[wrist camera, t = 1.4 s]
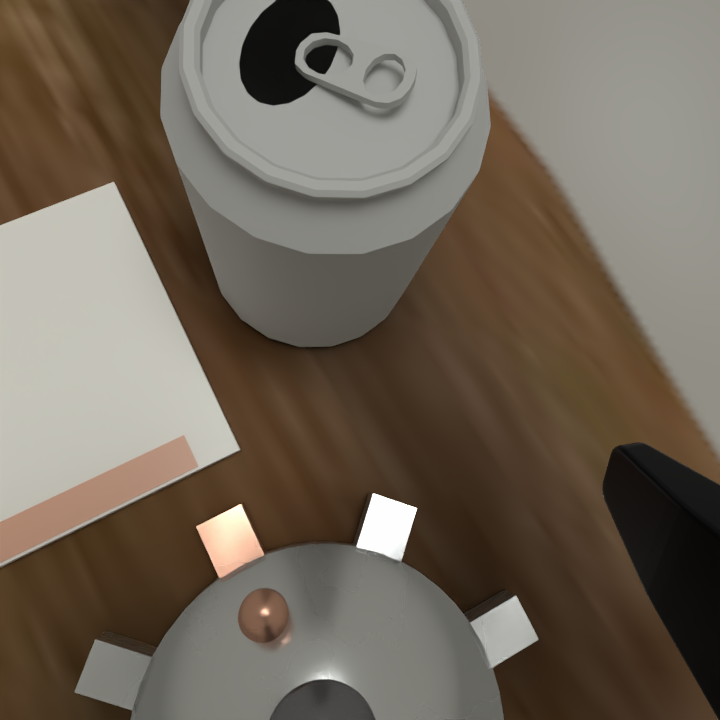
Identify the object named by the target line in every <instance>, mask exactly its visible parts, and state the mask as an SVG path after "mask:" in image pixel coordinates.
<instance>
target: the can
mask: <svg viewBox="0 0 720 720" xmlns="http://www.w3.org/2000/svg"><path fill="white" fill-rule="evenodd" d="M161 120H162V123H163V125H164V128H165V131H166V134H167V137H168V140H169V143H170V146H171V149H172V152H173V155H174V158H175V161H176V164H177V166H178V169H179V172H180V175H181V178H182V181H183V184H184V187H185V190H186V193H187V195H188V198H189V201H190V204H191V207H192V210H193V213H194V216H195V219H196V222H197V224H198V227H199V230H200V233H201V236H202V239H203V242H204V245H205V248H206V251H207V253H208V256H209V259H210V262H211V265H212V268H213V271H214V274H215V277H216V280H217V283H218V285H219V288H220V291H221V294H222V295H223V297H224V298H225V299H226V300H227V302H228V303H229V304H230V306H231V307H232V308H233V310H234V311H235V312H236V313H237V315H238V316H239V317H240V319H241V320H243V321H244V322H246V323H247V324H249V325H250V326H252V327H253V328H255V329H256V330H257V331H259V332H260V333H262V334H263V335H265V336H266V337H268V338H271V339H274V340H278V341H281V342H284V343H288V344H291V345H294V346H298V347H332V346H335V345H338V344H341V343H344V342H346V341H349V340H352V339H355V338H358V337H361V336H363V335H364V334H366V333H367V332H368V331H370V330H371V329H372V328H374V327H375V326H376V325H378V324H379V323H380V322H382V321H383V320H384V319H386V318H387V316H388V315H389V313H390V312H391V310H392V309H393V308H394V306H395V305H396V303H397V302H398V300H399V299H400V297H401V296H402V294H403V293H404V291H405V290H406V288H407V287H408V285H409V283H410V282H411V280H412V278H413V277H414V275H415V274H416V272H417V270H418V269H419V267H420V266H421V264H422V262H423V261H424V259H425V258H426V256H427V254H428V253H429V251H430V249H431V248H432V246H433V245H434V243H435V241H436V240H437V238H438V237H439V235H440V233H441V232H442V230H443V228H444V227H445V225H446V224H447V222H448V220H449V219H450V217H451V216H452V214H453V212H454V211H455V209H456V208H457V206H458V204H459V203H460V201H461V199H462V198H463V196H464V195H465V193H466V191H467V190H468V188H469V187H470V185H471V183H472V182H473V180H474V178H475V177H476V175H477V174H478V172H479V170H480V166H481V162H482V158H483V154H484V151H485V147H486V143H487V139H488V135H489V131H490V128H491V124H490V112H489V100H488V89H487V80H486V78H485V76H484V73H483V68H482V56H481V45H480V40H479V38H478V36H477V33H476V31H475V28H474V26H473V24H472V21H471V19H470V17H469V14H468V12H467V10H466V8H465V5H464V3H463V1H462V0H190V2H189V5H188V7H187V10H186V12H185V15H184V17H183V20H182V22H181V23H180V24H179V27H178V29H177V32H176V34H175V37H174V39H173V42H172V44H171V47H170V49H169V51H168V54H167V56H166V59H165V61H164V64H163V66H162V75H161Z"/></svg>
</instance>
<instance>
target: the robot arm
mask: <svg viewBox="0 0 720 720" xmlns="http://www.w3.org/2000/svg"><path fill="white" fill-rule="evenodd" d="M603 496H604V499H605V502H606V504H607V506H608V509H609V511H610V513H611V515H612V518H613V520H614V522H615V524H616V527H617V529H618V531H619V533H620V536H621V538H622V540H623V542H624V545H625V547H626V549H627V551H628V554H629V556H630V558H631V561H632V563H633V565H634V567H635V570H636V572H637V574H638V576H639V578H640V581H641V583H642V585H643V587H644V589H645V591H646V593H647V595H648V597H649V599H650V600H651V602H652V604H653V606H654V608H655V610H656V611H657V613H658V615H659V617H660V618H661V620H662V622H663V624H664V625H665V627H666V629H667V631H668V632H669V634H670V636H671V638H672V639H673V641H674V643H675V644H676V646H677V648H678V650H679V651H680V653H681V655H682V657H683V658H684V660H685V662H686V664H687V665H688V667H689V669H690V671H691V672H692V674H693V676H694V678H695V679H696V681H697V683H698V685H699V686H700V688H701V690H702V692H703V693H704V695H705V697H706V699H707V700H708V702H709V704H710V706H711V707H712V709H713V711H714V713H715V714H716V716H717V718H718V720H720V485H719V484H717V483H716V482H714V481H712V480H710V479H708V478H707V477H705V476H703V475H701V474H699V473H698V472H696V471H694V470H692V469H690V468H689V467H687V466H685V465H683V464H681V463H680V462H678V461H676V460H674V459H672V458H671V457H669V456H667V455H665V454H663V453H662V452H660V451H658V450H656V449H654V448H653V447H651V446H649V445H647V444H645V443H640V442H638V443H631V444H625V445H619V446H617V447H615V448H614V449H613V451H612V453H611V456H610V459H609V463H608V467H607V470H606V474H605V477H604V481H603Z"/></svg>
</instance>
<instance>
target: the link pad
mask: <svg viewBox="0 0 720 720" xmlns="http://www.w3.org/2000/svg"><path fill="white" fill-rule="evenodd" d="M239 451H241V449H240V447H239V445H238V443H237V441H236V439H235V437H234V434H233V432H232V430H231V428H230V426H229V424H228V422H227V420H226V417H225V415H224V413H223V411H222V409H221V407H220V405H219V402H218V400H217V398H216V396H215V394H214V392H213V390H212V388H211V385H210V383H209V381H208V379H207V377H206V375H205V373H204V371H203V368H202V366H201V364H200V362H199V360H198V358H197V356H196V354H195V351H194V349H193V347H192V345H191V343H190V341H189V339H188V337H187V334H186V332H185V330H184V328H183V326H182V324H181V322H180V320H179V317H178V315H177V313H176V311H175V309H174V307H173V305H172V303H171V300H170V298H169V296H168V294H167V292H166V290H165V288H164V286H163V283H162V281H161V279H160V277H159V275H158V273H157V271H156V269H155V266H154V264H153V262H152V260H151V258H150V256H149V254H148V251H147V249H146V247H145V245H144V243H143V241H142V239H141V237H140V234H139V232H138V230H137V228H136V226H135V224H134V222H133V220H132V217H131V215H130V213H129V211H128V209H127V207H126V205H125V203H124V200H123V198H122V196H121V194H120V192H119V190H118V188H117V186H116V184H115V183H114V182H112V183H110V184H107V185H104V186H102V187H99V188H96V189H94V190H91V191H89V192H86V193H83V194H81V195H78V196H76V197H73V198H70V199H68V200H65V201H63V202H60V203H57V204H55V205H52V206H50V207H47V208H44V209H42V210H39V211H37V212H34V213H31V214H29V215H26V216H24V217H21V218H18V219H16V220H13V221H11V222H8V223H5V224H3V225H0V568H1V567H3V566H5V565H7V564H9V563H11V562H13V561H15V560H18V559H20V558H22V557H24V556H26V555H28V554H30V553H32V552H34V551H36V550H38V549H40V548H42V547H44V546H46V545H48V544H50V543H52V542H54V541H56V540H59V539H61V538H63V537H65V536H67V535H69V534H71V533H73V532H75V531H77V530H79V529H81V528H83V527H85V526H87V525H89V524H91V523H93V522H95V521H97V520H100V519H102V518H104V517H106V516H108V515H110V514H112V513H114V512H116V511H118V510H120V509H122V508H124V507H126V506H128V505H130V504H132V503H134V502H136V501H138V500H141V499H143V498H145V497H147V496H149V495H151V494H153V493H155V492H157V491H159V490H161V489H163V488H165V487H167V486H169V485H171V484H173V483H175V482H177V481H179V480H182V479H184V478H186V477H188V476H190V475H192V474H194V473H196V472H198V471H200V470H202V469H204V468H206V467H208V466H210V465H212V464H214V463H216V462H218V461H220V460H223V459H225V458H227V457H229V456H231V455H233V454H235V453H237V452H239Z"/></svg>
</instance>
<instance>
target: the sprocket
mask: <svg viewBox="0 0 720 720" xmlns="http://www.w3.org/2000/svg"><path fill="white" fill-rule="evenodd" d="M416 510H417V508H415V507H412V506H409V505H406V504H403V503H400V502H397V501H394V500H391V499H388V498H385V497H382V496H379V495H376V494H374V493H369V494H368V497H367V500H366V503H365V506H364V510H363V513H362V516H361V519H360V522H359V525H358V529H357V532H356V535H355V538H354V541H353V543H345V542H337V541H309V542H302V543H296V544H289V545H285V546H282V547H278V548H275V549H271V550H268V551H265V549H264V546H263V544H262V542H261V540H260V538H259V536H258V533H257V531H256V529H255V527H254V525H253V523H252V521H251V518H250V516H249V514H248V512H247V510H246V508H245V506H244V503H242V504H240V505H238V506H236V507H234V508H232V509H230V510H228V511H226V512H224V513H222V514H220V515H218V516H216V517H214V518H212V519H210V520H208V521H206V522H204V523H202V524H200V525H198V526H196V527H197V530H198V532H199V534H200V536H201V539H202V541H203V543H204V545H205V547H206V550H207V552H208V554H209V556H210V558H211V561H212V563H213V565H214V567H215V569H216V572H217V574H218V576H219V577H218V578H217V579H216V580H214V581H213V582H212V583H211V584H209V585H208V586H207V587H206V588H205V589H204V590H203V591H202V592H201V593H200V594H199V595H198V596H197V597H196V598H195V599H194V600H193V601H192V602H191V603H190V604H189V605H188V606H187V607H186V608H185V610H184V611H183V612H182V613H181V615H180V616H179V617H178V619H177V620H176V621H175V623H174V624H173V625H172V626H171V628H170V629H169V630H168V632H167V633H166V634H165V636H164V638H163V639H162V641H161V643H160V644H159V646H158V647H157V646H153V645H150V644H147V643H144V642H141V641H138V640H135V639H131V638H128V637H125V636H122V635H119V634H116V633H113V632H109V631H105V632H103V633H102V634H101V635H100V636H99V637H97V638H96V639H95V641H94V644H93V646H92V649H91V651H90V654H89V656H88V659H87V661H86V664H85V666H84V669H83V672H82V674H81V677H80V679H79V682H78V684H77V687H76V689H75V693H78V694H81V695H84V696H88V697H91V698H94V699H97V700H100V701H104V702H107V703H110V704H113V705H116V706H120V707H123V708H126V709H129V710H132V714H131V719H130V720H504V716H503V710H502V704H501V698H500V692H499V688H498V685H497V681H496V678H495V675H494V671H493V667H494V666H496V665H498V664H499V663H501V662H502V661H504V660H506V659H507V658H509V657H511V656H512V655H514V654H516V653H517V652H519V651H521V650H522V649H524V648H525V647H527V646H529V645H530V644H532V643H534V642H535V641H537V640H539V639H538V637H537V635H536V633H535V631H534V629H533V627H532V625H531V623H530V621H529V619H528V617H527V616H526V614H525V612H524V610H523V608H522V606H521V604H520V602H519V600H518V598H517V596H516V595H514V594H512V593H510V592H508V591H506V590H503V591H501V592H499V593H498V594H496V595H494V596H492V597H491V598H489V599H487V600H486V601H484V602H482V603H480V604H479V605H477V606H475V607H474V608H472V609H470V610H468V611H467V612H465V613H462V612H461V610H460V609H459V608H458V606H457V605H456V604H455V603H454V602H453V601H452V600H451V599H450V598H449V597H448V596H447V595H446V594H445V593H444V592H443V591H442V590H441V589H440V588H439V587H438V586H437V585H436V584H434V583H433V582H432V581H430V580H429V579H428V578H427V577H425V576H424V575H423V574H421V573H420V572H419V571H417V570H416V569H414V568H412V567H411V566H409V565H407V564H406V563H404V562H402V561H401V560H402V557H403V553H404V550H405V547H406V543H407V540H408V537H409V533H410V530H411V527H412V523H413V520H414V516H415V513H416Z"/></svg>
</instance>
